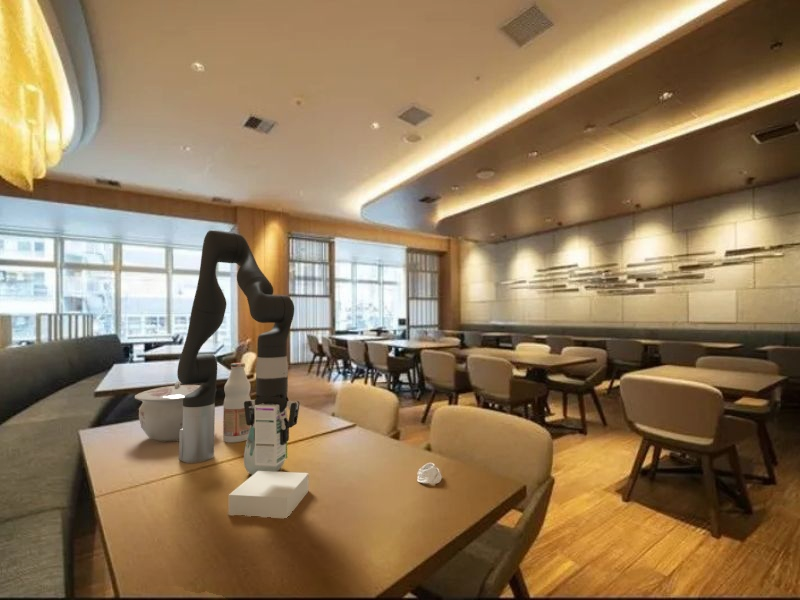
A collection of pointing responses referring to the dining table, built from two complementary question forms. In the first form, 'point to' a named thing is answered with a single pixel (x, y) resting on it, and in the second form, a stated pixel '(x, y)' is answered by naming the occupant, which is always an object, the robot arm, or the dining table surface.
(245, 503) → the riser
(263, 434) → the syrup box
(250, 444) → the vase
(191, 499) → the dining table surface
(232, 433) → the fruit juice
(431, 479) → the whipped cream
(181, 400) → the chamber pot
